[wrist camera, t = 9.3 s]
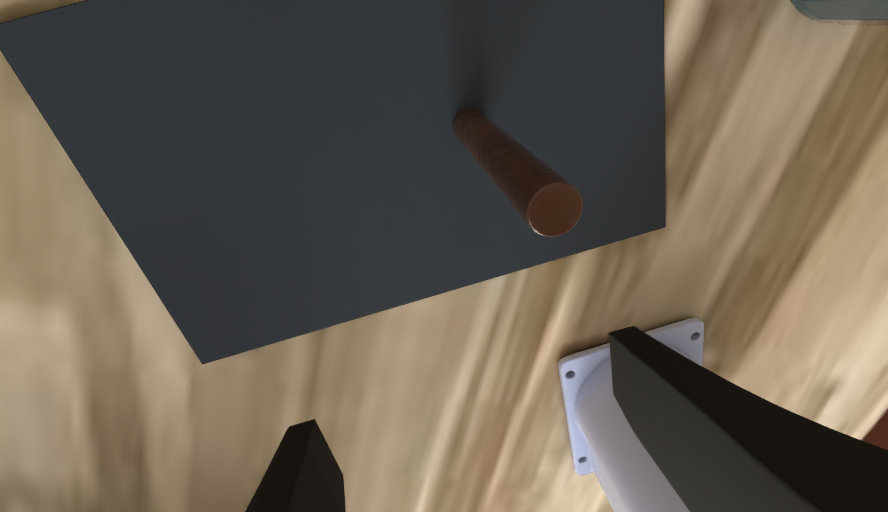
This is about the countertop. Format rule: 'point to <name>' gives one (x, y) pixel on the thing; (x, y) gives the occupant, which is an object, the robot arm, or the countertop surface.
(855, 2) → the espresso cup
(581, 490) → the countertop surface
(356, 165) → the mat
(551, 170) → the stirring stick
